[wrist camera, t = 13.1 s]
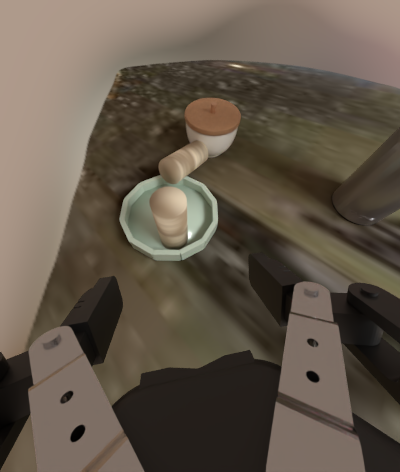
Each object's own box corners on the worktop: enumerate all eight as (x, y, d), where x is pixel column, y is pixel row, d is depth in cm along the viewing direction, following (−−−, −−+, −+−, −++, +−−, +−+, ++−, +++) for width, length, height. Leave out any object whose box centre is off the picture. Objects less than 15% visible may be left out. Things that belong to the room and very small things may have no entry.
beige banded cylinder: (179, 188, 33) (206, 166, 39) (181, 163, 29) (210, 144, 36) (159, 178, 34) (188, 159, 40) (158, 154, 30) (190, 137, 37)
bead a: (170, 222, 33) (163, 181, 24) (192, 234, 32) (193, 196, 23) (155, 242, 31) (141, 206, 22) (178, 255, 30) (173, 222, 21)
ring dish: (160, 172, 39) (158, 161, 36) (230, 206, 36) (233, 196, 33) (105, 231, 32) (98, 223, 30) (185, 278, 29) (185, 273, 27)
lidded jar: (179, 138, 44) (176, 93, 36) (220, 129, 46) (226, 84, 38) (196, 170, 40) (198, 127, 31) (241, 158, 42) (253, 114, 33)
